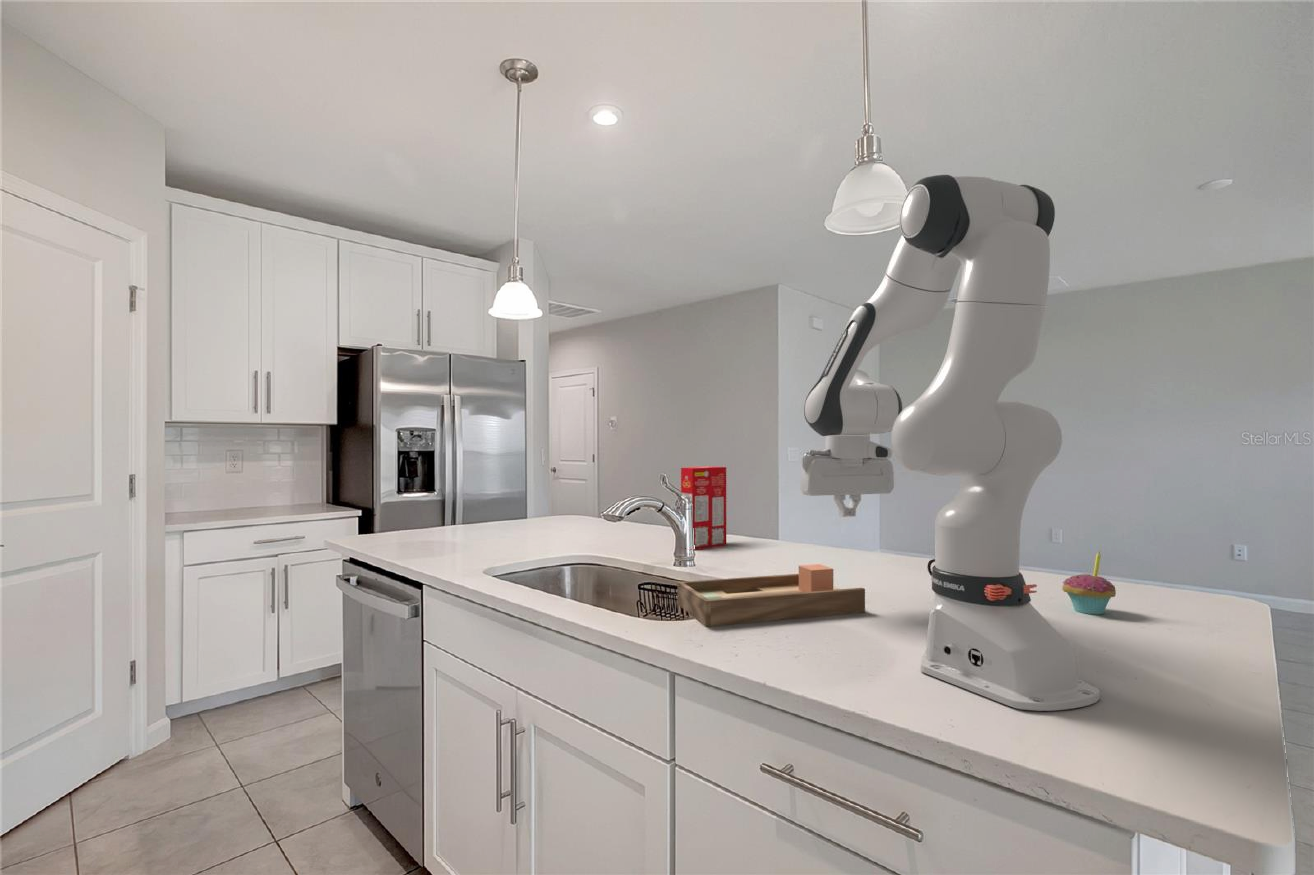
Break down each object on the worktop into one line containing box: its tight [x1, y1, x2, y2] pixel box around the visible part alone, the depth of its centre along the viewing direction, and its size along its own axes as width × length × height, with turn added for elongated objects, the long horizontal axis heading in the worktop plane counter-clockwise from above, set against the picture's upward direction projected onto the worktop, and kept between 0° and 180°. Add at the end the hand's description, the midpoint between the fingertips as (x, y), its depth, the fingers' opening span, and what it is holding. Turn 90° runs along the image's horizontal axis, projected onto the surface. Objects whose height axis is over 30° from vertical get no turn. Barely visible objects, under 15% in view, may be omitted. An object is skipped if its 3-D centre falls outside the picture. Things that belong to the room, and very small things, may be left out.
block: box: [798, 563, 834, 592], centre depth 127 cm, size 5×5×5 cm
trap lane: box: [676, 573, 866, 627], centre depth 124 cm, size 16×33×4 cm, turn 106°
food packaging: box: [680, 466, 727, 551], centre depth 197 cm, size 15×5×25 cm, turn 130°
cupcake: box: [1061, 549, 1117, 616], centre depth 121 cm, size 9×8×12 cm
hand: (847, 516), depth 129 cm, fingers closed
